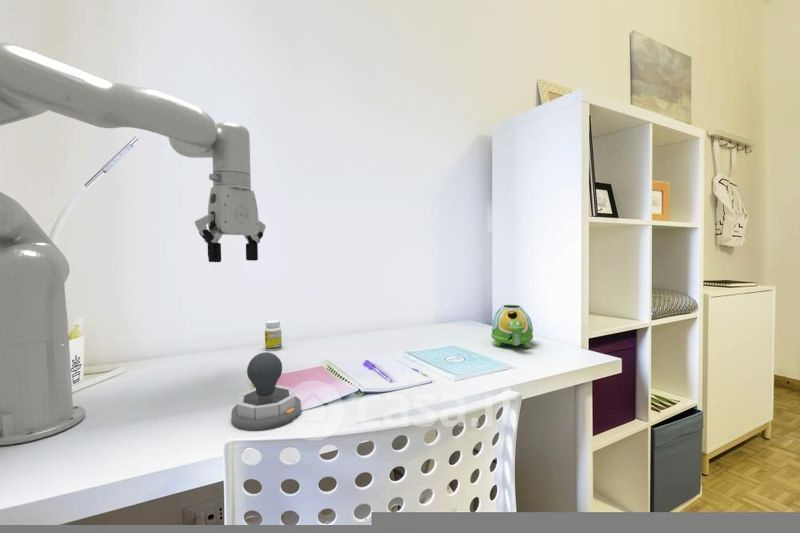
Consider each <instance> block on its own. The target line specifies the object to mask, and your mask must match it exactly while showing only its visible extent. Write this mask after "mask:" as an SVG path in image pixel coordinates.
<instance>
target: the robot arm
mask: <svg viewBox="0 0 800 533" xmlns="http://www.w3.org/2000/svg"><path fill="white" fill-rule="evenodd" d="M48 111H49V112H53V113H55V114H58V115H62V116H64V117H67V118H71V119H73V120H76V121H79V122H82V123H85V124H88V125H90V126H94V127H97V128H103V129H119V128H131V129H132V128H133V129H138V130H143V131H148V132H151V133H155V134H157V135H161V136H164V137H167V138H168V142H169V144H170V146H171V148H172V149H173V150H174V151H175V152H176V153H178V154H179V155H181V156H183V157H186V158H190V159H191V158H195V159H197V158H198V159H199V158H200V159H201V158H202V159H204V158H205V159H206V158H207V159H210V158H211V159H212V173H210V174H209V175H208V179H209V180H210V181H212V185H213V186H212V187H211V188H210V191H209V192H210V193H209V198H208V205H207V206H208V208H207V214H206V215H204V216H202V217H201V218H199V219H197V220H195V221H194V224H195V226H196V229H197V231H199V232H198V234H199V235H200V236H201V237H202V239H204V240H203V242H204V243H206V244H207V257H208V262H209V263H221V262H222V245H221V244H222V243H221V242H219V240H221V239H222V236H224V235H225V236H228V235H231V236H242V235H243V237H244V238H245V240H246V241H247V243H245V260H246V261H258V260H259V256H258V255H259V249H258V248H259V246H258V244H259V243H260V242H261V239H262V238H263V237H264V232H265V231H266V224H264V222H262V221H260V220H259V210H258V204H257V198H256V194H255V191H254V190H252V180H251V178H252V177H251V174H252V173H251V140H250V139H251V138H250V136H251V135H250V133H249V130H248V128H246V127H245V126H243V125H241V124H238V123H234V122H218V123H216V122H215V120H214V119H213V118H212V117H211V115H209V114H208V112H206V111H205V110H203V109H201V108H200V107H198V106H196V105H193V104H190V103H188V102H185V101H184V100H181V99H178V98H176V97H174V96H171V95H168V94H166V93H163V92H162V91H161V92H160V91H157V90H153V89H151V88H146V87H145V88H144V87H139V86H135V85H129V84H126V83H118V82H113V81H110V80H107V79H105V78H103V77H99V76H97V75H96V74H95V75H94V74H92V73H89V72H87V71H84V70H83V69H80V68H78V67H75V66H72V65H70V64H66V63H64V62H61V61H59V60H56V59H54V58H51V57H49V56H46V55H44V54H41V53H39V52H37V51H33V50H31V49H28V48H26V47H23V46H19V45H18V44H14V43H8V42H0V127H1V126H5V125H8V124H9V125H10V124H13V123H16V122H19V121H23V120H26V119H29V118H33V117H36V116H39V115H42V114H44V113H46V112H48ZM207 226H208V227H207ZM69 274H70V265H69V262H68V259H67V258H66V256H65V255H64V254H63V252H62V251H61V250H60V249H59V248H58V247H57V245H56V244H55V242H53V240H52V239H51V238H50V237H49V235H48V234H47V233H46V232H45V231H44V229H42V228H41V226H40V225H39V224H38V223H37V222H36V220H35V219H34V218H33V217H32V215H31V214H30V213H29V212H28V210H26V209H25V208H24V206H23V205H21V204H20V203H19V202H18V201H17V200H15V199H14V198H13V197H11V196H9V195H7V194H5V193H3V192H1V191H0V446H8V445H15V444H21V443H28V442H30V441H31V442H32V441H36V440H40V439H43V438H46V437H50V436H53V435H56V434H57V433H61V432H63V431H66V430H68V429H70V428H72V427H73V426H75V425H76V424H77V425H78V423H79V422H81V421H82V420H83V419H84V417H85V416H86V415H85V413H86V412H85V408H84V407H83V406H80V405H75V404H74V400H73V387H72V386H73V385H72V384H73V382H72V366H71V351H70V350H71V349H70V338H69V337H70V335H69V325H68V324H69V322H68V321H69V320H68V311H67V302H66V301H67V300H66V292H65V291H66V290H65V288H66V287H65V285H66V284H65V283H66V281H67V280H68V278H69Z"/></svg>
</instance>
